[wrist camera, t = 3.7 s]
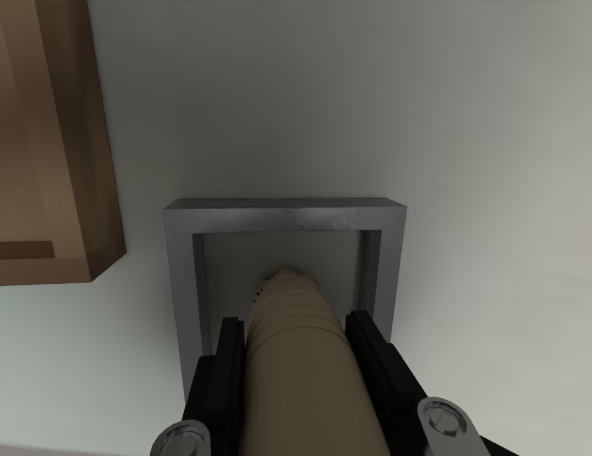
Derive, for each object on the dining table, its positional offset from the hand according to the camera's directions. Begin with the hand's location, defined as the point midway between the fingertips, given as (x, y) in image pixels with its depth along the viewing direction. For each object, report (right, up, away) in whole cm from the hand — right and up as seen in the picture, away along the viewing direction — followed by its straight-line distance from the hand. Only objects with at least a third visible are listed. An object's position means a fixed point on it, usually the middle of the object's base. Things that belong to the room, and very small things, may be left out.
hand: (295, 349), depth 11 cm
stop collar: (0, +1, +4) cm, 4 cm away
